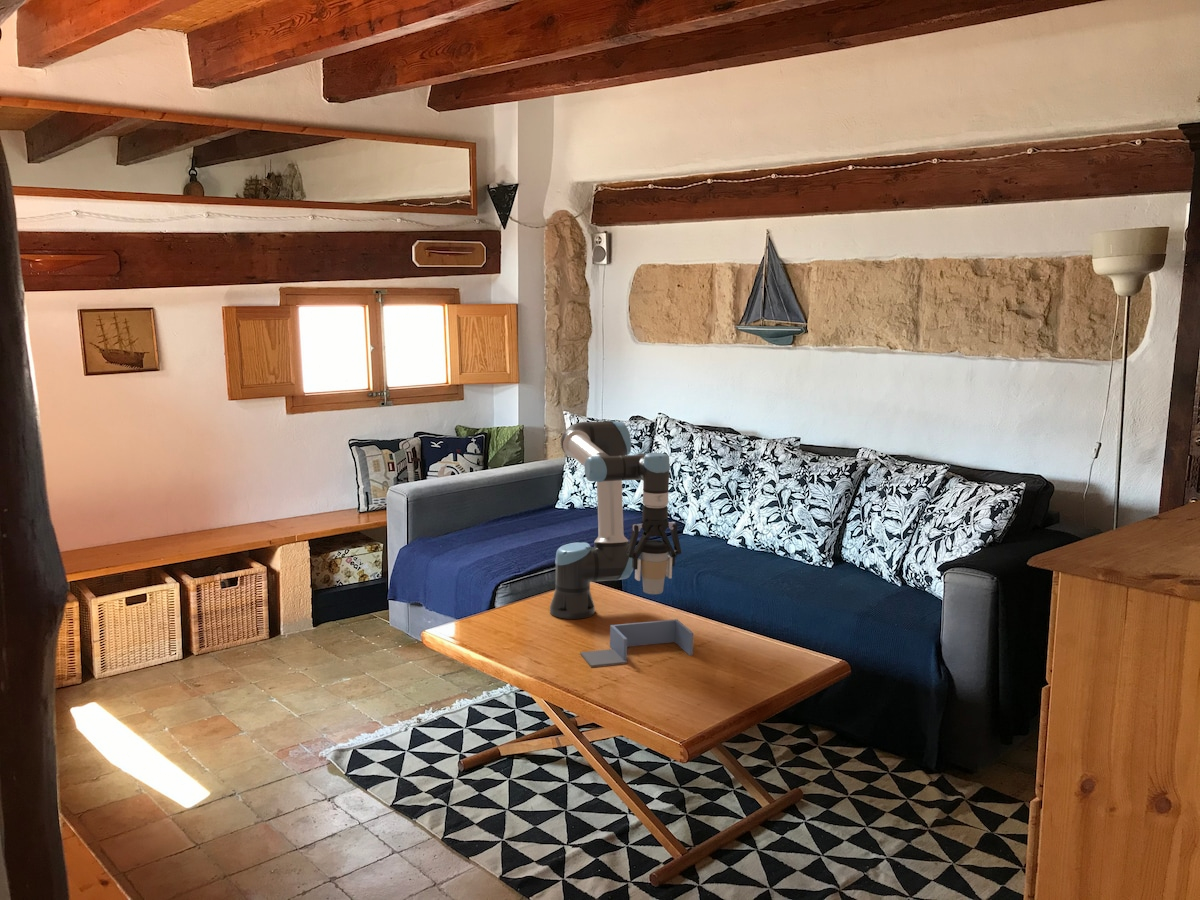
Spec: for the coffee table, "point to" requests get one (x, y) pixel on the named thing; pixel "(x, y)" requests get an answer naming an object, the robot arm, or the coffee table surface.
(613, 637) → the grey u-shaped wall
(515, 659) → the coffee table surface
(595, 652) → the coaster
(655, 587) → the coffee cup
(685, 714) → the coffee table surface
